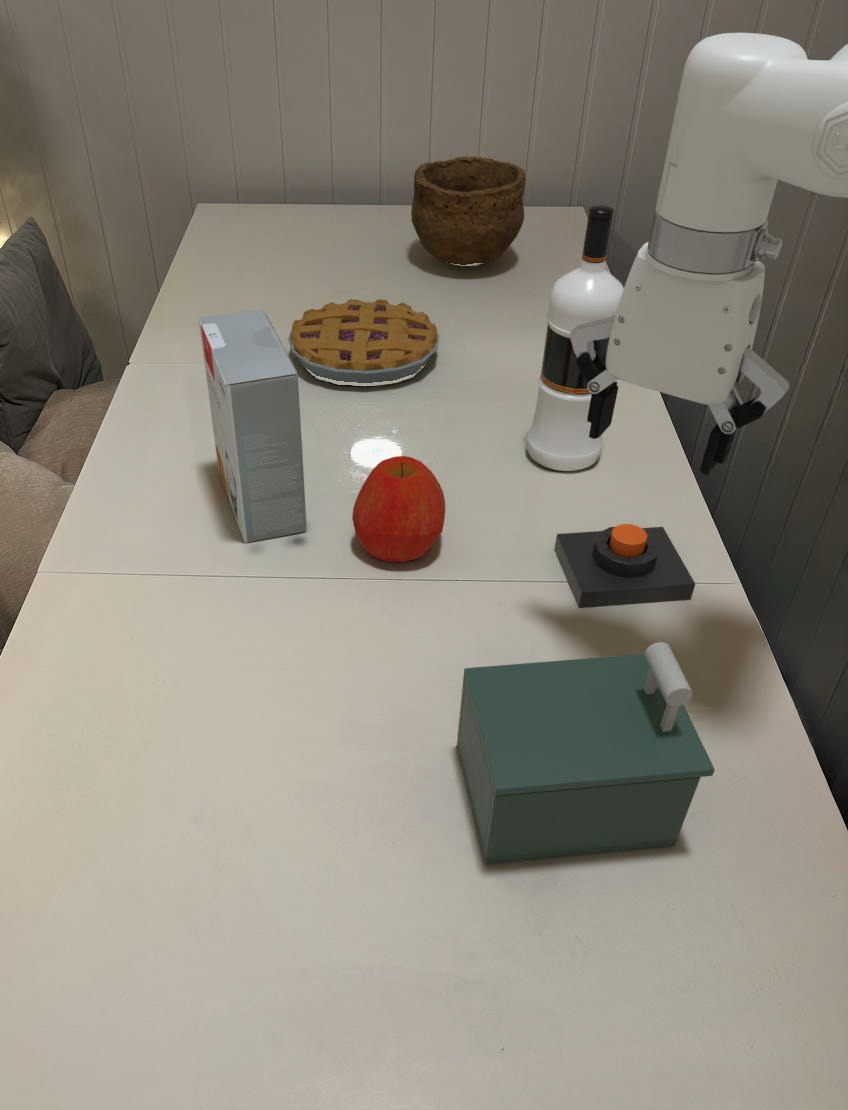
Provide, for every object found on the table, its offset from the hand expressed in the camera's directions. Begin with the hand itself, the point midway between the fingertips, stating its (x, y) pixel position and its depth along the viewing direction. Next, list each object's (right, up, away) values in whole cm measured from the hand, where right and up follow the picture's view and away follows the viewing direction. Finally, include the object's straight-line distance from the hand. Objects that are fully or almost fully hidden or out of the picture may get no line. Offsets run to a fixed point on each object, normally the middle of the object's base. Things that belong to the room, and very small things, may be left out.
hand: (653, 448), depth 79 cm
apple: (-20, -5, +27) cm, 34 cm away
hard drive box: (-36, 0, +33) cm, 49 cm away
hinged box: (-7, -29, +1) cm, 30 cm away
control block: (+3, -9, +23) cm, 25 cm away
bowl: (-7, +49, +85) cm, 99 cm away
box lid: (-7, -22, -5) cm, 24 cm away
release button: (+3, -6, +20) cm, 22 cm away
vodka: (+1, +7, +40) cm, 41 cm away
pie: (-24, +25, +60) cm, 69 cm away
